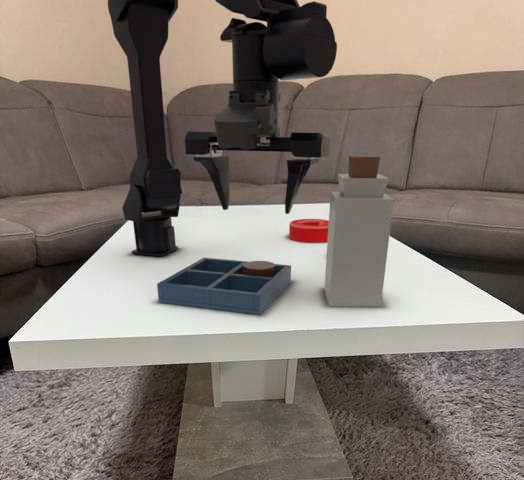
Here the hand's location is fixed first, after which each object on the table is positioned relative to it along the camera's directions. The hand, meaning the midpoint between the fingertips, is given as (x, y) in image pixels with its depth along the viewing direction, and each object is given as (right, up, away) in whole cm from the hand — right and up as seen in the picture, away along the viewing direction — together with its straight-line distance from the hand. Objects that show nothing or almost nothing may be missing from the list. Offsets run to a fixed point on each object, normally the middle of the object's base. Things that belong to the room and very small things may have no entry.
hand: (256, 211), depth 64 cm
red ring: (+11, +4, +34) cm, 36 cm away
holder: (-4, -11, +1) cm, 12 cm away
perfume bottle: (+13, -12, -1) cm, 18 cm away
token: (+1, -9, +3) cm, 10 cm away
